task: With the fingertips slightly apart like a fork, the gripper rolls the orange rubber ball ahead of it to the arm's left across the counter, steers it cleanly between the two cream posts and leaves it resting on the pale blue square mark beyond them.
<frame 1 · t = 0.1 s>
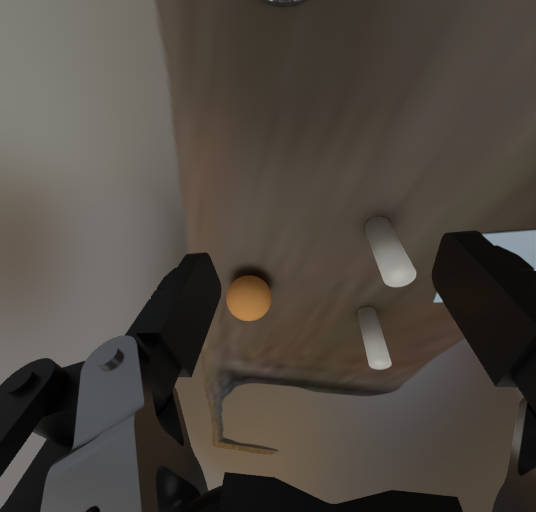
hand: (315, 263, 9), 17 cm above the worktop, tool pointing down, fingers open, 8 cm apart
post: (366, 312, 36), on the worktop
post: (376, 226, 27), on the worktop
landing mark: (495, 269, 29), on the worktop
ball: (249, 297, 32), on the worktop
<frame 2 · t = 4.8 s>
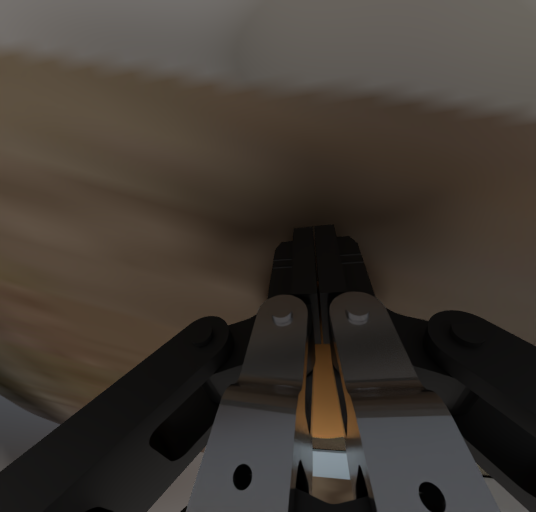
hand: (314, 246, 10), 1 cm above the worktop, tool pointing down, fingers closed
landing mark: (334, 464, 30), on the worktop
backstop strip: (336, 478, 34), on the worktop
milk carton: (483, 482, 28), on the worktop
ball: (316, 351, 10), on the worktop, touching gripper
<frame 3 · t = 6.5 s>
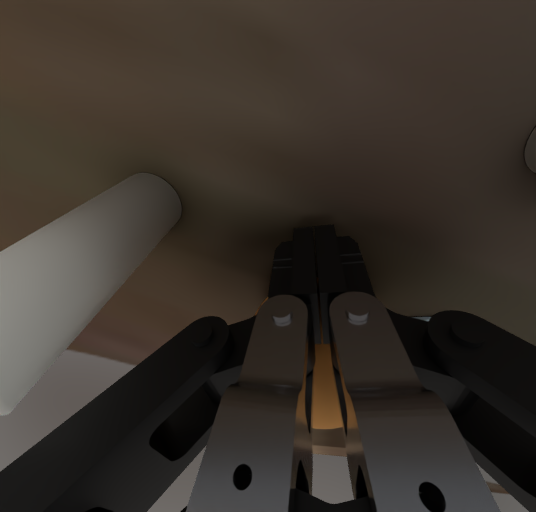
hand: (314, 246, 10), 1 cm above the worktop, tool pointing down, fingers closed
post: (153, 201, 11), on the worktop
backstop strip: (341, 409, 21), on the worktop
ball: (315, 345, 11), on the worktop, touching gripper
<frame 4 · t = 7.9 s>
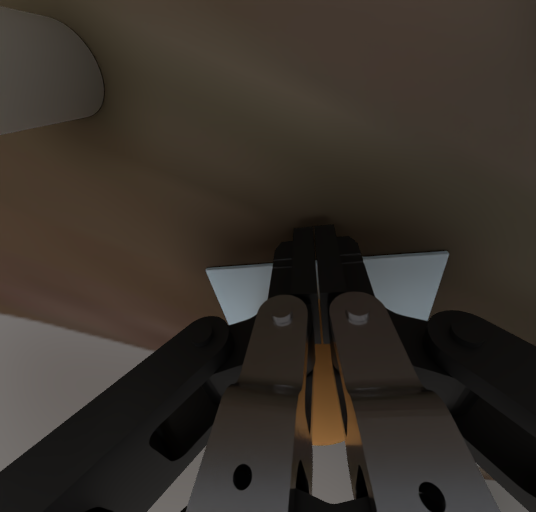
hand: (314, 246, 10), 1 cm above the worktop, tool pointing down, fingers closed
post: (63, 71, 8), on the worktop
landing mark: (321, 331, 14), on the worktop
ball: (311, 363, 11), on the worktop
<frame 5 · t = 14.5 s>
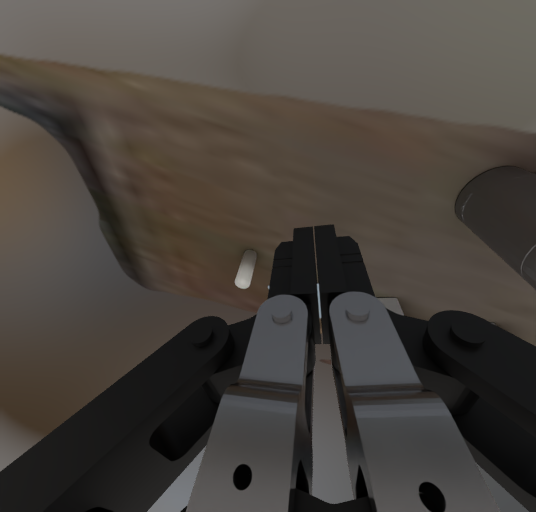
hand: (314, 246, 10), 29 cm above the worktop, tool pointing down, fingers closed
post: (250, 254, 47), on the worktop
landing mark: (296, 302, 54), on the worktop
milk carton: (375, 307, 52), on the worktop
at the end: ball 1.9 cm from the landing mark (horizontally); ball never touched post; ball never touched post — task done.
